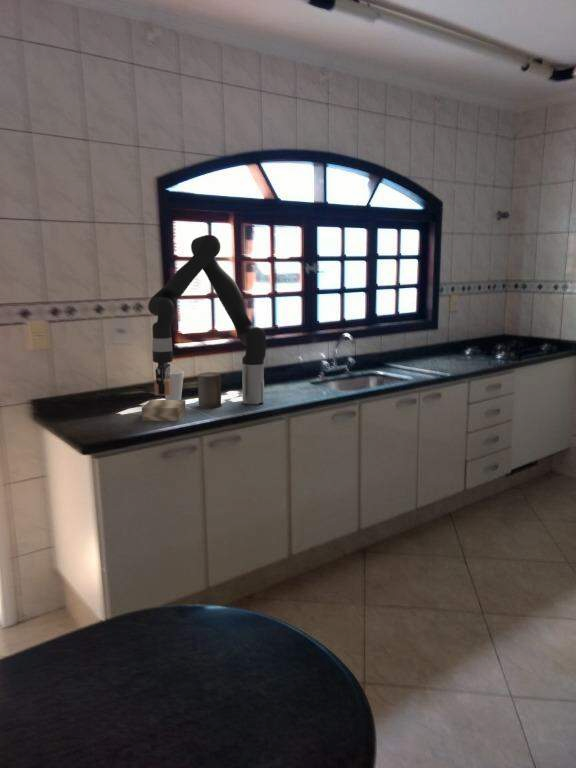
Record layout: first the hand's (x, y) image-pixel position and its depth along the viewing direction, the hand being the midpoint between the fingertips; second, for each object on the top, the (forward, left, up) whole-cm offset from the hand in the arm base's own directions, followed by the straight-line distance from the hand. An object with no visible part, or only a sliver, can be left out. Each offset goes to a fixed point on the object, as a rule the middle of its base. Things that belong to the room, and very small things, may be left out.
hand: (163, 392), depth 224 cm
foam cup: (+2, -26, -10) cm, 28 cm away
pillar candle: (-15, -19, -10) cm, 26 cm away
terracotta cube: (0, 0, -1) cm, 1 cm away
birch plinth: (0, 0, -10) cm, 10 cm away
